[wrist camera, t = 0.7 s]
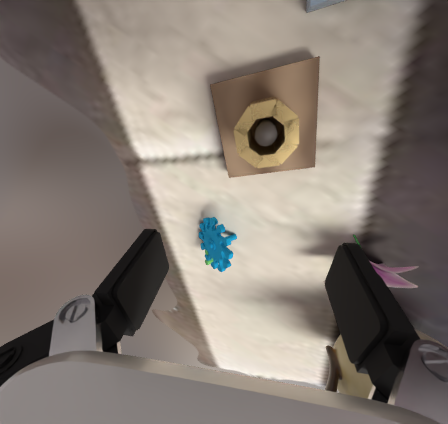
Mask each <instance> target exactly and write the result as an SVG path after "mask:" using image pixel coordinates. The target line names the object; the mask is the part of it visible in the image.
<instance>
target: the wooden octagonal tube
mask: <svg viewBox="0 0 448 424" xmlns="http://www.w3.org/2000/svg"><path fill="white" fill-rule="evenodd" d="M270 116H273V117H274V118H275V119H276V120H278V121H279V122H280V123H281V130H282V132H281V133H280V135H279V136H278V137H277V138H276V140H275V142H274V143H273V144H271V145H269V146H261V145H259V144H258V143H257V141H256V140H254V139H253V138H252V136H251V126H252V125H253V123H254V122H255V121H256V119H260V118H265V117H270ZM234 136H235V142H236V148H237V154H238V153H239V156H240V157H242V158H243V159H244V160H246V161H247V162H248V163H250V164H251V165H252V166H254V167H255V168H256V167H257V168H264V167H271V166H279V165H280V164H282V163H283V162H284V161H285V160H286V159H287V158H288V157H289V156H290V155H291V153H292V152H293V151H294V150H295V149H296V148H297V147H298V145H297V144H299V118H298V116H297V115H296V114H295V113H294V112H293V111H292V110H291V109H290V108H289V107H287V106H286V105H285V104H284V103H283V102H281V101H280V100H279V99H278V98H277V97H276V98H275V97H270V98H265V99H261V100H256V101H253V102H252V103H250V105H249V106H248V107H247V109H246V110H245V112H244V114H243V115H242V117H241V118H240V120H239V121H238V123H237V124H236V126H235V128H234Z"/></svg>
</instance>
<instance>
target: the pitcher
mask: <svg viewBox="0 0 448 424" xmlns="http://www.w3.org/2000/svg"><path fill="white" fill-rule="evenodd" d="M415 331H416V333H417V334H418V336H419V337H420V339H427V340H430V341H434V342H436V343H438V344H440V345H442V346H444V345H443V344H441V343H440V342H438V341H437V340H435V339H433V338H432V337H430V336H428V335H426V334H424V333H422V332H420V331H418V330H416V329H415ZM444 347H446V346H444ZM446 348H447V347H446ZM447 349H448V348H447ZM326 350H327V353H328V357H329V363H330V371H329V377H328V381H327V385H326V388H325V390H326V391H331V392H337V389H338V391H339V393H341V394H346V395H351V396H356V397H361V398H366V399H368V397H369V394H370V392H371V389H372V386H373V384H372V382H371V380H370V377H369V374H363V373H357V371H356V368H355V365H354V364H352V363H351V362H350V360H349V358H348V355H347V352H346V349H345V346H344V343H343V340H342V337H341V334H340V335H339V337H338V339H337V340H336V342H335V345H334V347H333V348H332V347H331V346H326Z"/></svg>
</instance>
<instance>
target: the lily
mask: <svg viewBox="0 0 448 424" xmlns="http://www.w3.org/2000/svg"><path fill="white" fill-rule="evenodd" d="M353 236H354V238H355V240H356V242H357V244H359V242H358V240H357V238H356V236H355V235H353ZM359 245H360V244H359ZM360 247H361V246H360ZM370 263H371V264H372V266H373V268H374V269H375V271H376V272H377V274H379V275H380V276H381V277H382V279H383V280H384V282H385V284H386V285H387V287H396V288H417V287H418V286H416V285H415V284H413V283H411V282H409V281H407V280H405V279H403V278H402V277H400V276H399V275H397V274H395V273H401V272H406V271H410V270H413V269H415V268H417V267H419V266H413V267H393V268H390V267H388V266H387V265H385V264H383V263H382V264H375V263H373V262H371V261H370ZM323 282H325V281H323Z"/></svg>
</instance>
